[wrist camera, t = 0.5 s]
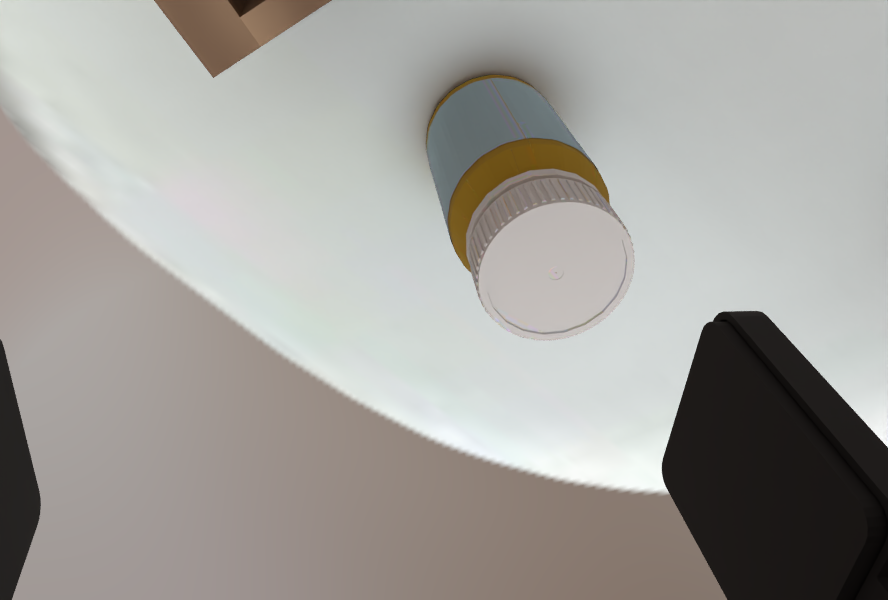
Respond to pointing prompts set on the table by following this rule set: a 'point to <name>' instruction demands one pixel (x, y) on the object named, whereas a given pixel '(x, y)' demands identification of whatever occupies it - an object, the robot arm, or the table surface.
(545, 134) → the bottle
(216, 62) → the socket block
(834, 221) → the table surface
